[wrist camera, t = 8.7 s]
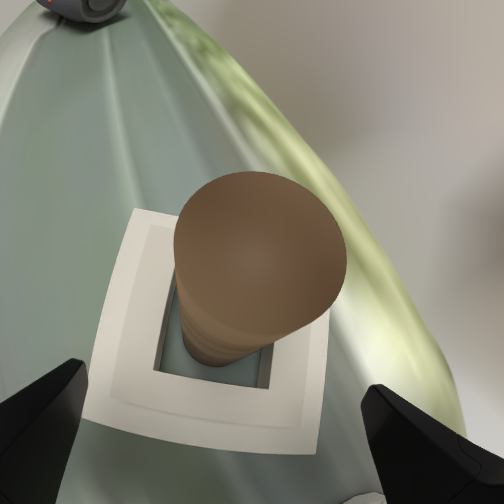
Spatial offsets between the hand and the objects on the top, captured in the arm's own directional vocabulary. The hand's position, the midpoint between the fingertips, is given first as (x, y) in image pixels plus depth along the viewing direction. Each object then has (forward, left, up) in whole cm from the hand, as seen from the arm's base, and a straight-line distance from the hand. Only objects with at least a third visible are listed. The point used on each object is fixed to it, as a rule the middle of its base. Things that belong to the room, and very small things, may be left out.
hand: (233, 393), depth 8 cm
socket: (+3, 0, -10) cm, 10 cm away
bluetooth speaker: (+46, +34, -10) cm, 59 cm away
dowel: (+3, 0, -10) cm, 10 cm away
